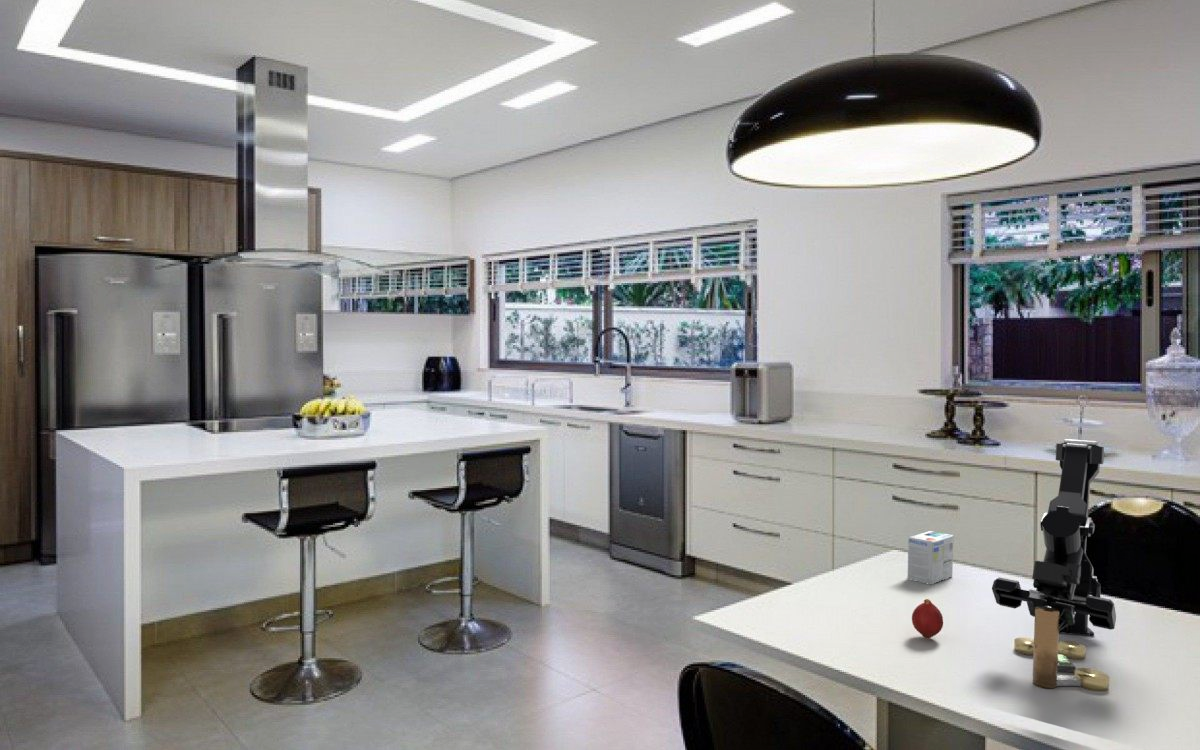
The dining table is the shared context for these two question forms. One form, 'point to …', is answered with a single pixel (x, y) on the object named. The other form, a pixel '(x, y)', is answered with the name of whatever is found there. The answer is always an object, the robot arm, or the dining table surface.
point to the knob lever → (1048, 657)
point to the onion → (927, 619)
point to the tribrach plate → (1064, 652)
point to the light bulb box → (930, 557)
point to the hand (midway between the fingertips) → (1042, 645)
